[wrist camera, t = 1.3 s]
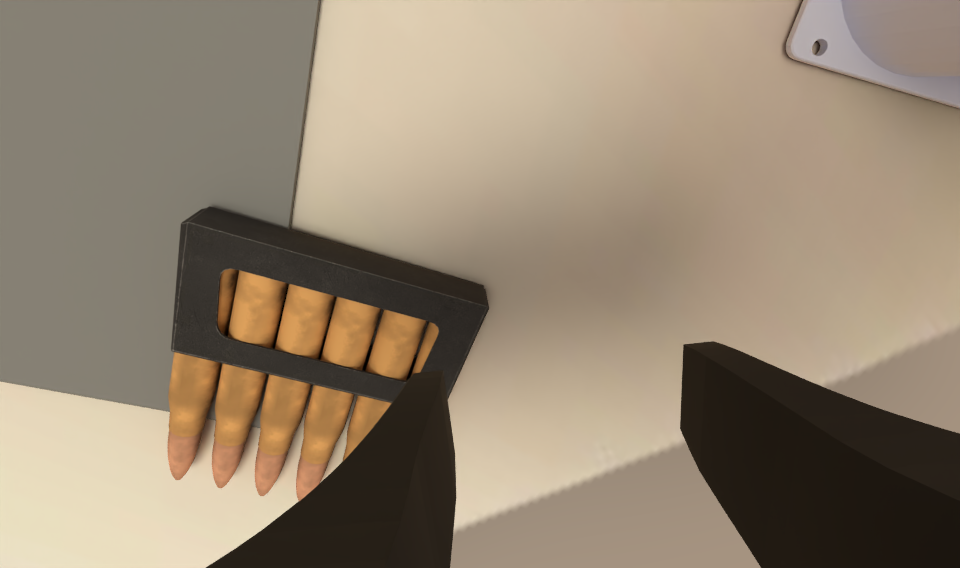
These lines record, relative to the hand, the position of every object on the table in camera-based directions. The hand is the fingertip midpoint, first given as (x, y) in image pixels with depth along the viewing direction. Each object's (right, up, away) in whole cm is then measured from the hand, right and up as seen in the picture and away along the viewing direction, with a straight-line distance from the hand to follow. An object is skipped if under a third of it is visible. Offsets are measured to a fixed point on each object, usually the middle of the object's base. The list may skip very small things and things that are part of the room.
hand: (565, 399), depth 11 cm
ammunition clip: (-6, +4, +8) cm, 11 cm away
